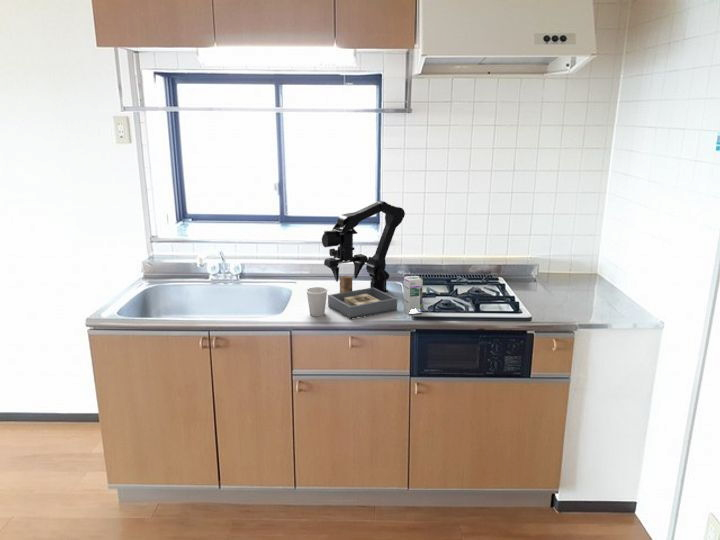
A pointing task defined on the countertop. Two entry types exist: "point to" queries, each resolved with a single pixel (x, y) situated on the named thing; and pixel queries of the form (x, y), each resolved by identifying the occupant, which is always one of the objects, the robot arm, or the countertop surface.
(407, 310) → the syrup box
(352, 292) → the charcoal tray
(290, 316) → the countertop surface
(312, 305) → the dixie cup
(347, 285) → the walnut peg
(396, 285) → the countertop surface
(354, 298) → the birch bore plate
